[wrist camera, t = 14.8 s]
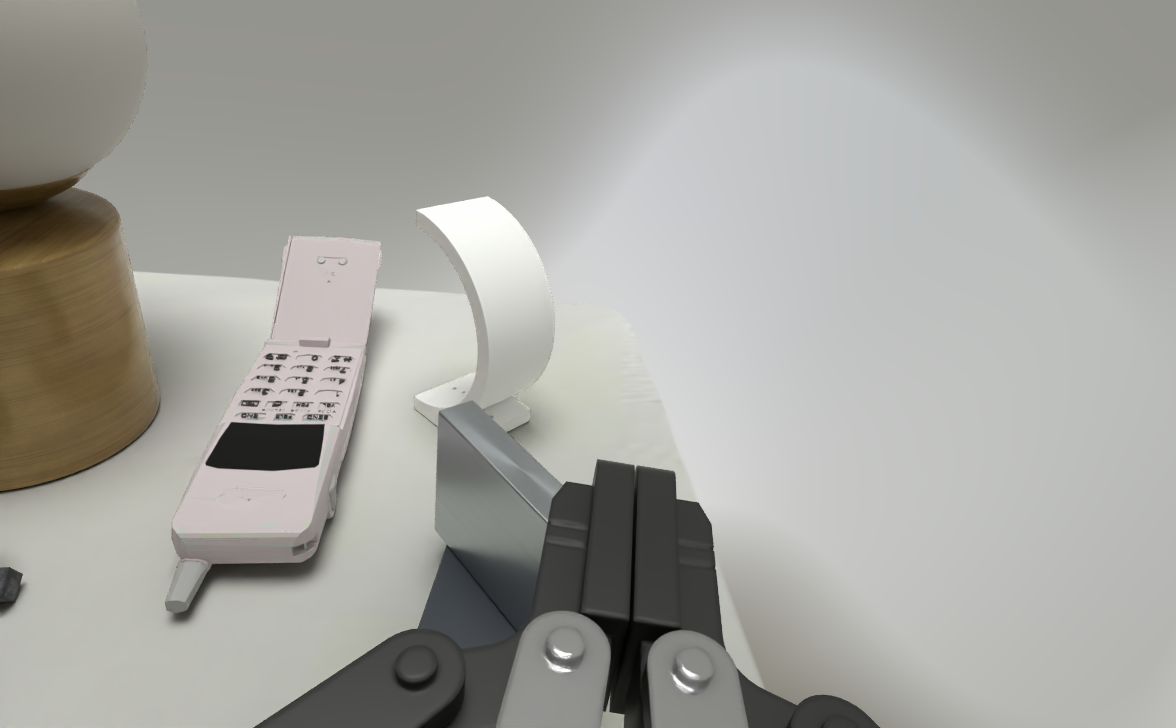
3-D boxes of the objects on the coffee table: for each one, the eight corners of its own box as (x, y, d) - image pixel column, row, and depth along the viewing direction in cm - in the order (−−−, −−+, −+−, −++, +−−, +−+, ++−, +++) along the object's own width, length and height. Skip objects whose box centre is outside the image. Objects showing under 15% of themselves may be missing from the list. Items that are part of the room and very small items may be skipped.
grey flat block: (433, 529, 30) (437, 405, 27) (465, 515, 31) (472, 394, 28) (559, 685, 25) (585, 555, 21) (593, 662, 26) (622, 534, 22)
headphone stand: (474, 382, 43) (487, 196, 37) (542, 429, 40) (568, 235, 33) (412, 407, 40) (415, 209, 33) (480, 461, 37) (497, 254, 30)
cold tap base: (399, 704, 25) (399, 679, 24) (459, 526, 33) (460, 503, 32) (562, 731, 25) (568, 707, 24) (584, 546, 33) (588, 524, 32)
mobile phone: (384, 238, 45) (300, 506, 24) (387, 317, 48) (314, 616, 27) (287, 231, 44) (111, 506, 23) (296, 313, 47) (148, 620, 26)
